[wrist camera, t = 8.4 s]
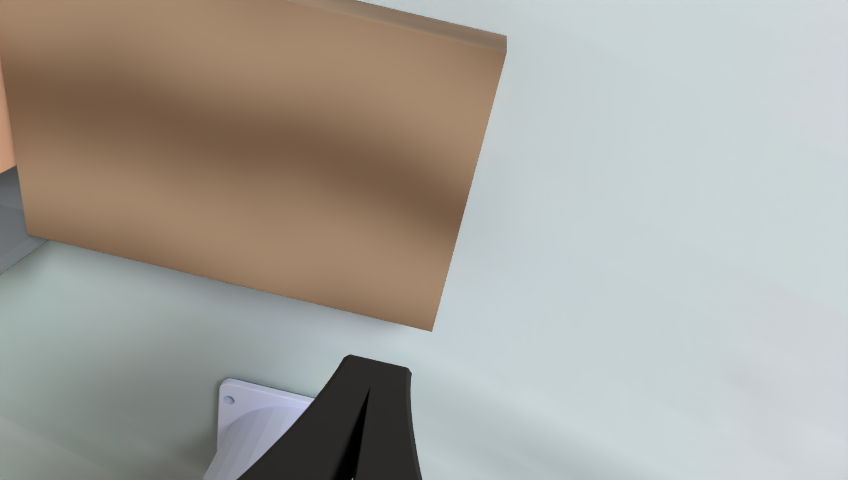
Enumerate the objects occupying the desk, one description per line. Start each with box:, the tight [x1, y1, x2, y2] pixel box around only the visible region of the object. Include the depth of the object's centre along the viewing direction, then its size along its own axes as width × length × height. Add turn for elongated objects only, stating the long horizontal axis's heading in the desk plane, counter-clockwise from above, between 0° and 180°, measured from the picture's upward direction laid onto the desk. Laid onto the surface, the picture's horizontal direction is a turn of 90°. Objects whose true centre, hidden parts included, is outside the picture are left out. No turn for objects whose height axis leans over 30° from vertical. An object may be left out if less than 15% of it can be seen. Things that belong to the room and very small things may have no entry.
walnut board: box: [0, 0, 507, 332], centre depth 20 cm, size 10×15×2 cm, turn 78°
